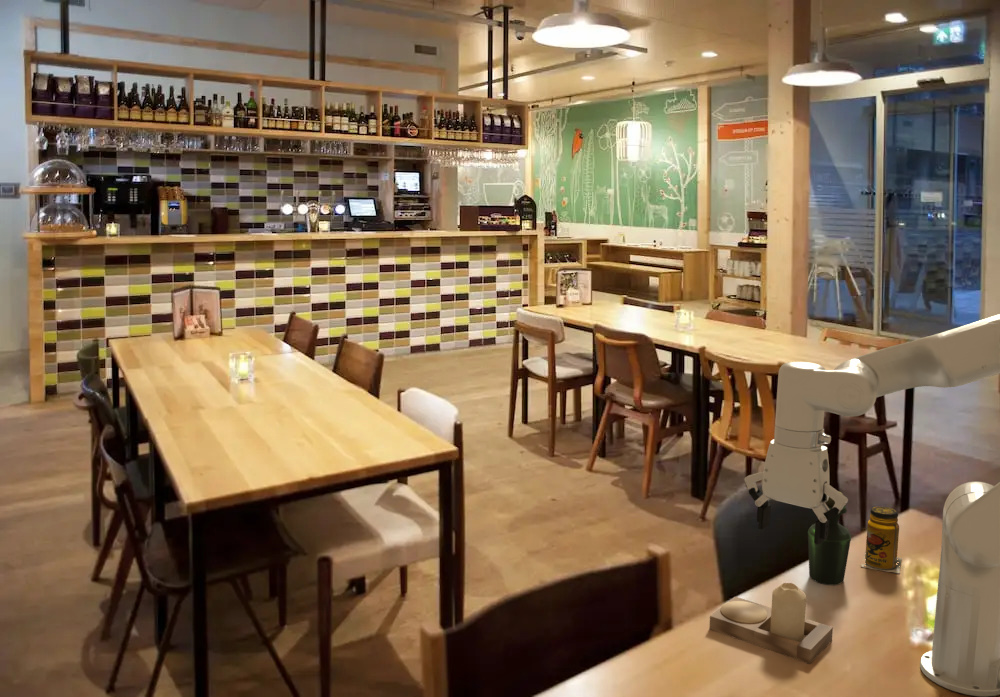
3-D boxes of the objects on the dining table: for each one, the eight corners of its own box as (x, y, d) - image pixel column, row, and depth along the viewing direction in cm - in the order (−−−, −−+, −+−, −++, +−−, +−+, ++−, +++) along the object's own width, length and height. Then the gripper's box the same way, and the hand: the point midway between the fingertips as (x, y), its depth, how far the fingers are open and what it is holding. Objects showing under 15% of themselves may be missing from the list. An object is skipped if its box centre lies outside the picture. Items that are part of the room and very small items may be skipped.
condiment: (860, 567, 179) (864, 512, 177) (864, 553, 186) (868, 500, 184) (899, 574, 175) (904, 518, 173) (901, 559, 183) (906, 505, 181)
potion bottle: (846, 572, 176) (852, 488, 173) (850, 589, 168) (856, 501, 165) (804, 567, 178) (809, 484, 175) (806, 584, 171) (811, 497, 168)
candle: (805, 650, 146) (809, 594, 144) (771, 646, 147) (774, 591, 145) (801, 634, 151) (804, 580, 149) (768, 631, 152) (771, 578, 150)
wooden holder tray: (832, 640, 149) (833, 625, 148) (809, 663, 141) (810, 648, 141) (734, 609, 160) (735, 595, 160) (709, 629, 153) (710, 614, 152)
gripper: (859, 442, 140) (850, 541, 143) (758, 423, 151) (752, 516, 154) (842, 451, 134) (834, 555, 137) (739, 431, 146) (733, 528, 149)
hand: (791, 534), depth 146 cm, fingers open, 9 cm apart
